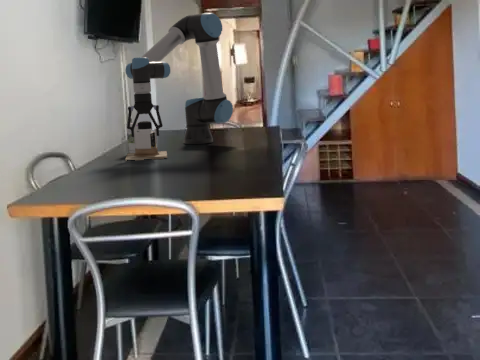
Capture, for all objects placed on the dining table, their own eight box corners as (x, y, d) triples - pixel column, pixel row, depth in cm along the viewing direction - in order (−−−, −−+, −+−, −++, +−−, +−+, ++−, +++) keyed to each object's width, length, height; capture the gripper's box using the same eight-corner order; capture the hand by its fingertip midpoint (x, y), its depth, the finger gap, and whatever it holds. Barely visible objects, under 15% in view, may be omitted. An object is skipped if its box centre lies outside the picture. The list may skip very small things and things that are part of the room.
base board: (127, 155, 285) (127, 146, 284) (166, 153, 287) (166, 144, 286) (125, 161, 267) (124, 151, 266) (167, 158, 269) (166, 149, 268)
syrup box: (145, 152, 291) (143, 122, 288) (137, 154, 286) (135, 123, 283) (135, 152, 294) (133, 122, 291) (128, 154, 289) (125, 123, 286)
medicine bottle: (151, 149, 272) (149, 121, 270) (136, 149, 273) (134, 122, 271) (156, 146, 279) (154, 120, 277) (141, 147, 280) (139, 120, 278)
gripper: (117, 94, 267) (121, 146, 271) (166, 92, 269) (169, 143, 273) (118, 93, 274) (122, 144, 278) (166, 91, 277) (169, 141, 281)
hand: (146, 143), depth 276 cm, fingers closed on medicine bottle, 8 cm apart
